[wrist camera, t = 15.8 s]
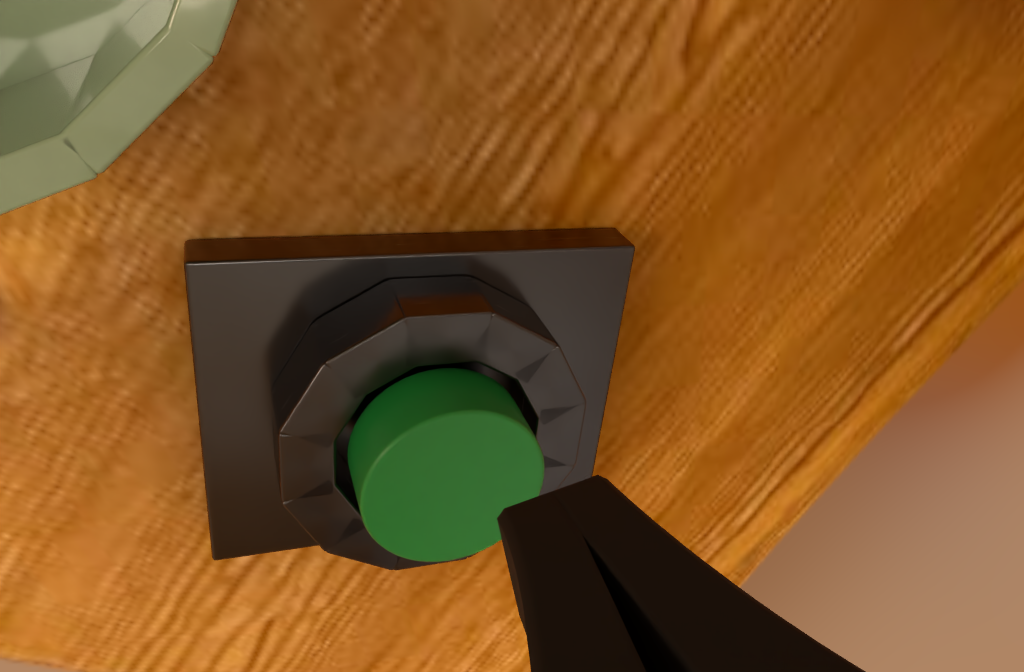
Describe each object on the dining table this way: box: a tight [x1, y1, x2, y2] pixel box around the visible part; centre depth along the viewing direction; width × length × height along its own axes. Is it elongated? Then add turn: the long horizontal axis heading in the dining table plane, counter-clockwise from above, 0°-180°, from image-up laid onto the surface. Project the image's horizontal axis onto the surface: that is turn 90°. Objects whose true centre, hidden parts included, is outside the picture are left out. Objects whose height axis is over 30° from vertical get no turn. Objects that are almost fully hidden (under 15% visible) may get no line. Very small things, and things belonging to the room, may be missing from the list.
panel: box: [184, 228, 635, 570], centre depth 20 cm, size 10×8×3 cm
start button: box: [347, 368, 544, 562], centre depth 18 cm, size 4×4×2 cm
